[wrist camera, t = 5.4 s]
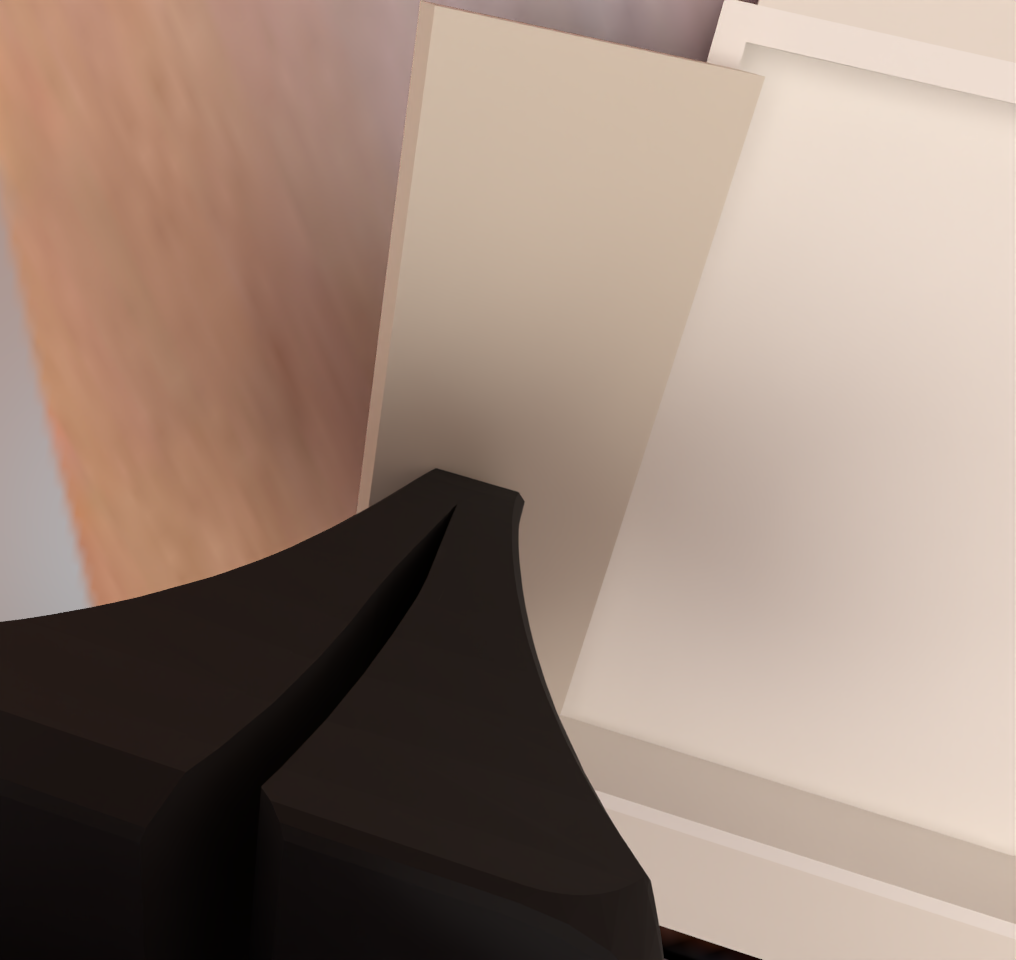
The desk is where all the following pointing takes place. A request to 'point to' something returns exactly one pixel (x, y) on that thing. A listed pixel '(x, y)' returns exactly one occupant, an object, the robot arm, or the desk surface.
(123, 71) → the desk surface
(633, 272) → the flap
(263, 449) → the desk surface
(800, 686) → the carton
